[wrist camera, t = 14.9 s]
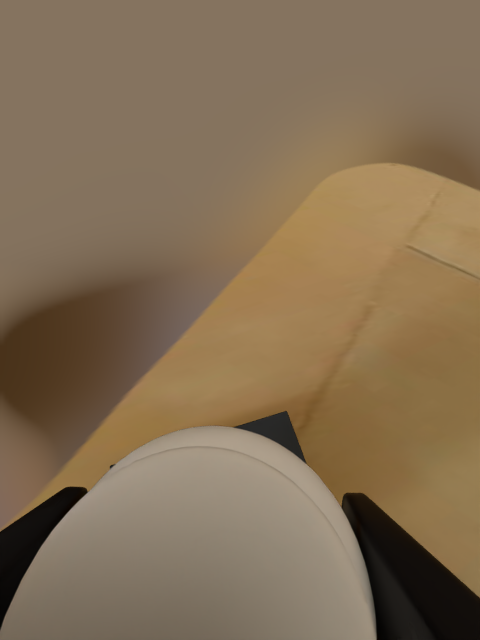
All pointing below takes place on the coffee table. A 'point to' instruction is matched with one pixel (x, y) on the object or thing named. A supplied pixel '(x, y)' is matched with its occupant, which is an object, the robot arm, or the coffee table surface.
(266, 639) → the supplement bottle
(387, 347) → the coffee table surface
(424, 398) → the coffee table surface
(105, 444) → the coffee table surface
